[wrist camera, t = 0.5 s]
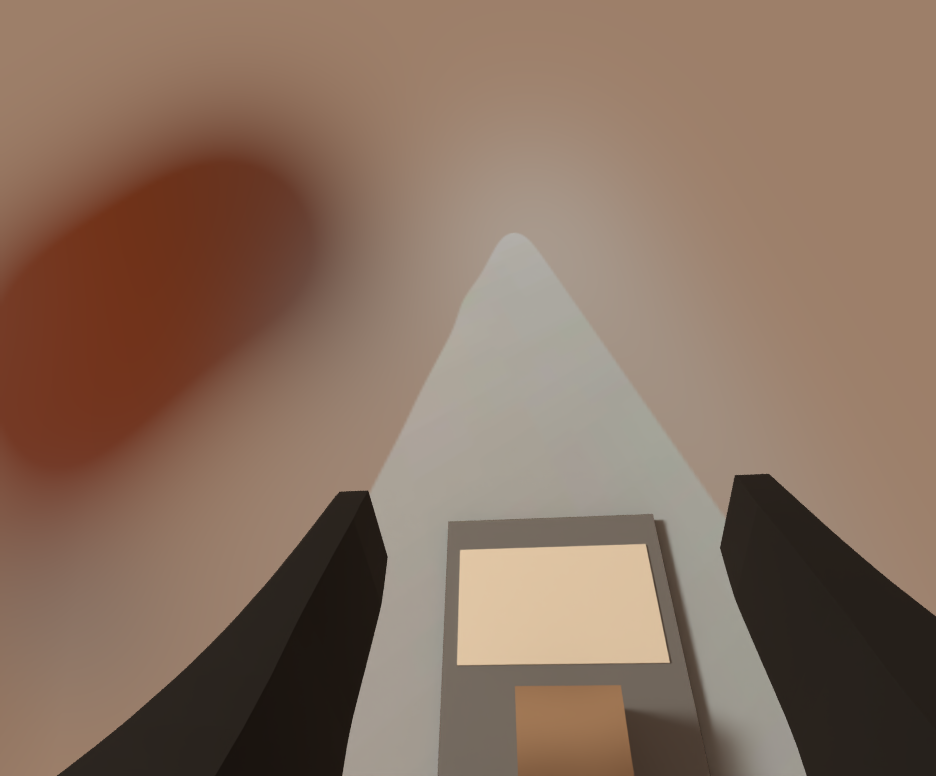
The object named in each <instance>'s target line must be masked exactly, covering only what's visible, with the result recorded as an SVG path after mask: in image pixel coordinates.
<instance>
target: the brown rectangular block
mask: <svg viewBox="0 0 936 776" xmlns="http://www.w3.org/2000/svg"><path fill="white" fill-rule="evenodd" d="M515 704H516V732H517V761H518V776H634V771H633V765H632V758H631V751H630V744H629V737H628V731H627V724H626V717H625V710H624V703H623V697H622V690H621V685H589V686H515Z"/></svg>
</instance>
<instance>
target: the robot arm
mask: <svg viewBox="0 0 936 776" xmlns="http://www.w3.org/2000/svg"><path fill="white" fill-rule="evenodd" d="M720 549H721V553H722V556H723V560H724V563H725V567H726V570H727V574H728V577H729V581H730V584H731V587H732V591H733V594H734V597H735V600H736V602H737V605H738V607H739V610H740V612H741V614H742V617H743V619H744V621H745V624H746V626H747V628H748V631H749V633H750V636H751V638H752V640H753V643H754V645H755V647H756V649H757V652H758V654H759V656H760V659H761V661H762V663H763V666H764V668H765V670H766V673H767V675H768V677H769V680H770V682H771V684H772V686H773V689H774V691H775V693H776V696H777V698H778V700H779V703H780V705H781V707H782V710H783V712H784V714H785V716H786V719H787V721H788V724H789V727H790V729H791V732H792V734H793V737H794V740H795V742H796V745H797V747H798V750H799V753H800V757H801V760H802V763H803V766H804V769H805V772H806V775H807V776H936V616H935V615H933V614H932V613H931V612H929V611H928V610H927V609H926V608H924V607H923V606H922V605H920V604H919V603H918V602H917V601H915V600H914V599H913V598H911V597H910V596H909V595H908V594H906V593H905V592H904V591H903V590H901V589H900V588H899V587H897V586H896V585H895V584H894V583H892V582H891V581H890V580H889V579H887V578H886V577H885V576H884V575H883V574H881V573H880V572H879V571H878V570H876V569H875V568H874V567H873V566H872V565H871V564H870V563H868V562H867V561H866V560H865V559H864V558H862V557H861V556H860V555H859V554H858V553H857V552H855V551H854V550H853V549H852V548H851V547H850V546H848V545H847V544H846V543H845V542H843V541H842V540H841V539H840V538H839V537H838V536H837V535H836V534H835V533H833V532H832V531H831V530H830V529H829V528H828V527H827V526H825V525H824V524H823V523H822V522H821V521H820V520H819V519H818V518H817V517H816V516H815V515H814V514H812V513H811V512H810V511H809V510H808V509H807V508H806V507H805V506H804V505H802V504H801V503H800V502H799V501H798V500H797V499H796V498H795V497H794V496H793V495H792V494H790V493H789V492H788V491H787V490H786V489H785V488H784V487H782V485H781V484H779V483H778V482H777V481H776V480H775V479H774V478H773V477H772V476H771V475H769V474H755V475H735V478H734V482H733V488H732V492H731V497H730V502H729V507H728V512H727V517H726V522H725V527H724V531H723V536H722V541H721V546H720ZM387 558H388V557H387V553H386V550H385V546H384V543H383V540H382V536H381V533H380V529H379V526H378V522H377V519H376V516H375V512H374V509H373V505H372V502H371V498H370V495H369V492H368V491H346V492H339V493H338V494H337V496H335V498H334V499H333V500H332V502H331V503H330V504H329V505H328V507H327V508H326V509H325V511H324V512H323V513H322V515H321V516H320V517H319V519H318V520H317V521H316V522H315V524H314V525H313V526H312V528H311V529H310V530H309V531H308V533H307V534H306V535H305V537H304V538H303V539H302V541H301V542H300V543H299V544H298V546H297V547H296V548H295V549H294V550H293V552H292V553H291V554H290V555H289V557H288V558H287V559H286V560H285V561H284V563H283V564H282V565H281V566H280V568H279V569H278V570H277V571H276V573H275V574H274V575H273V576H272V577H271V579H270V580H269V581H268V582H267V583H266V584H265V586H264V587H263V588H262V589H261V590H260V591H259V592H258V593H257V595H256V596H255V597H254V598H253V599H252V600H251V601H250V602H249V604H248V605H247V606H246V607H245V608H244V609H243V610H242V612H241V613H240V614H239V615H238V616H237V617H236V618H235V619H234V620H233V621H232V623H230V625H229V626H228V627H227V628H226V629H225V630H224V631H223V632H222V633H221V634H220V635H219V636H218V637H217V638H216V639H215V640H214V641H213V642H212V643H211V644H210V645H209V646H208V647H207V648H206V649H205V650H204V651H203V652H202V653H201V654H200V655H199V656H198V657H197V658H196V659H195V660H194V661H193V662H192V663H191V664H190V665H189V666H188V667H187V668H186V669H185V670H184V671H182V672H181V673H180V674H179V675H178V676H177V677H176V678H175V679H174V680H173V681H171V682H170V683H169V684H168V685H167V686H166V687H165V688H164V689H162V690H161V691H160V692H159V693H158V694H157V695H156V696H154V697H153V698H152V699H151V700H150V701H149V702H148V703H146V705H144V706H143V707H142V708H141V709H140V710H139V711H137V712H136V713H135V714H134V715H133V716H132V717H131V718H129V719H128V720H127V721H126V722H125V723H123V725H121V726H120V727H118V728H117V729H116V730H115V731H114V732H112V733H111V734H110V735H109V736H107V737H106V738H105V739H104V740H102V741H101V742H100V743H99V744H97V745H96V746H95V747H94V748H92V749H91V750H90V751H89V752H87V753H86V754H85V755H83V756H82V757H81V758H79V759H78V760H77V761H76V762H74V763H73V764H72V765H71V766H69V767H68V768H67V769H65V770H64V771H63V772H61V773H60V774H59V775H57V776H342V773H343V767H344V761H345V755H346V749H347V743H348V738H349V733H350V728H351V724H352V719H353V715H354V711H355V707H356V703H357V699H358V695H359V691H360V687H361V683H362V679H363V676H364V672H365V668H366V664H367V660H368V656H369V652H370V648H371V644H372V640H373V636H374V632H375V628H376V624H377V620H378V616H379V612H380V608H381V603H382V596H383V589H384V582H385V574H386V566H387Z"/></svg>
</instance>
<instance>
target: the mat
mask: <svg viewBox="0 0 936 776" xmlns="http://www.w3.org/2000/svg"><path fill="white" fill-rule="evenodd" d="M589 685H621V690H622V697H623V703H624V710H625V717H626V724H627V731H628V737H629V744H630V751H631V758H632V765H633V771H634V776H710V771H709V767H708V762H707V758H706V753H705V749H704V744H703V740H702V735H701V731H700V726H699V722H698V717H697V712H696V708H695V703H694V699H693V694H692V690H691V685H690V681H689V676H688V672H687V667H686V663H685V658H684V654H683V649H682V645H681V640H680V635H679V631H678V626H677V622H676V617H675V613H674V608H673V604H672V599H671V595H670V590H669V586H668V581H667V577H666V572H665V567H664V563H663V558H662V554H661V549H660V545H659V540H658V536H657V531H656V527H655V522H654V518H653V514H643V515H616V516H589V517H562V518H535V519H508V520H481V521H454V522H448V546H447V569H446V593H445V616H444V640H443V663H442V687H441V710H440V734H439V757H438V776H518V761H517V732H516V704H515V686H589Z"/></svg>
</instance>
